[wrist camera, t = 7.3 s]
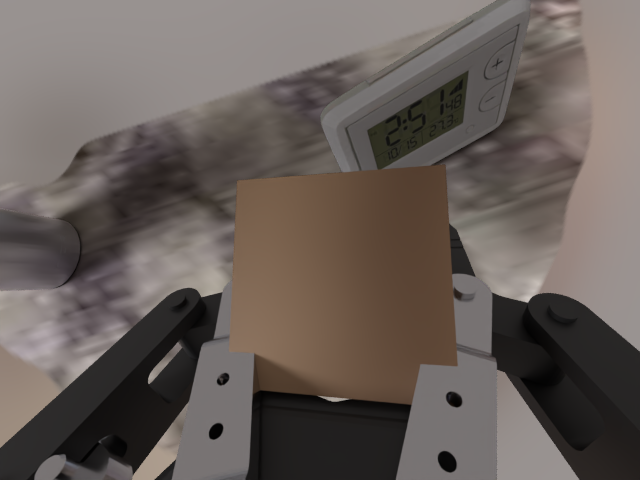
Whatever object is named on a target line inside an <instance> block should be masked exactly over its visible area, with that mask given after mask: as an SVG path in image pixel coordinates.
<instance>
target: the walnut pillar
mask: <svg viewBox="0 0 640 480" xmlns="http://www.w3.org/2000/svg"><path fill="white" fill-rule="evenodd" d="M229 352H243V353H254V354H255V361H256V367H257V373H258V379H259V385H260V390H264V391H274V392H285V393H295V394H305V395H316V396H326V397H337V398H347V399H358V400H368V401H378V402H389V403H399V404H410V405H412V402H413V397H414V392H415V388H416V383H417V378H418V374H419V369H420V364H427V365H443V366H458V362H457V345H456V329H455V313H454V297H453V280H452V264H451V248H450V231H449V215H448V199H447V183H446V166H445V164H444V165H431V166H418V167H405V168H392V169H379V170H366V171H353V172H340V173H327V174H314V175H301V176H288V177H275V178H262V179H249V180H237V194H236V215H235V236H234V257H233V277H232V298H231V319H230V339H229ZM448 404H449V405H451V406H452V407H454V406H453V405H452V404H450V403H448Z"/></svg>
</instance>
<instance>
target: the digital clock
mask: <svg viewBox="0 0 640 480" xmlns="http://www.w3.org/2000/svg"><path fill="white" fill-rule="evenodd" d="M529 18H530V0H496V1H495V2H493V3H491V4H490V5H488V6H486V7H484V8H483V9H481V10H480V11H478V12H476V13H474V14H473V15H471V16H469V17H468V18H466V19H464V20H462V21H461V22H459V23H457V24H456V25H454V26H453V27H451V28H449V29H448V30H446V31H445V32H443V33H441V34H440V35H438V36H436V37H435V38H433V39H432V40H430V41H428V42H427V43H425V44H423V45H422V46H420V47H419V48H417V49H415V50H414V51H412V52H410V53H409V54H407V55H406V56H404V57H402V58H401V59H399V60H397V61H396V62H394V63H393V64H391V65H389V66H388V67H386V68H384V69H383V70H381V71H380V72H378V73H376V74H375V75H373V76H371V77H370V78H368V79H367V80H365V81H364V82H362V83H360V84H359V85H357V86H356V87H354V88H352V89H351V90H349V91H348V92H346V93H345V94H343V95H342V96H340V97H338V98H337V99H335V100H334V101H332V102H331V103H330V104H328V105H327V106H326V107H325V108H324V110H323V111H322V113H321V117H320V119H321V125H322V128H323V131H324V133H325V136H326V138H327V140H328V143H329V145H330V147H331V149H332V151H333V154H334V156H335V158H336V160H337V163H338V165H339V167H340V169H341V171H342V172H353V171H366V170H379V169H392V168H405V167H418V166H430V165H432V164H434V163H435V162H437V161H439V160H441V159H443V158H444V157H446V156H448V155H450V154H452V153H453V152H455V151H457V150H459V149H461V148H462V147H464V146H466V145H468V144H470V143H471V142H473V141H475V140H477V139H479V138H480V137H482V136H484V135H486V134H487V133H489V132H491V131H492V130H494V129H496V128H497V127H498V126H499V125H500V124H501V123H502V121H503V119H504V116H505V113H506V109H507V106H508V102H509V98H510V94H511V90H512V86H513V82H514V79H515V75H516V71H517V67H518V63H519V59H520V55H521V52H522V48H523V44H524V40H525V36H526V32H527V28H528V23H529Z"/></svg>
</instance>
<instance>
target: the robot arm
mask: <svg viewBox="0 0 640 480" xmlns="http://www.w3.org/2000/svg"><path fill="white" fill-rule="evenodd" d="M449 231H450V248H451V264H452V280H453V297H454V313H455V329H456V345H457V362H458V366H443V365H427V364H420V369H419V374H418V378H417V383H416V388H415V392H414V397H413V402H412V405H410V404H399V403H389V402H378V401H368V400H358V399H349V400H344V401H339V402H332V401H328V400H326V399H323V398H321V397H318V396H316V395H305V394H295V393H285V392H274V391H264V390H260V385H259V379H258V373H257V367H256V361H255V354H254V353H243V352H229V339H230V319H231V298H232V280H231V281H230V282H229V283H228V284H227V285H226V286H225V287H224V289H223V292H221V293H218V294H214V295H209V296H205V297H201V296H200V294H199V292H198V291H197V290H196V289H193V288H184V289H180V290H178V291H175V292H173V293H172V294H170V295H169V296H167V297H166V298H165V299H164V300H163V301H161V302H160V303H159V304H158V305H157V306H156V307H155V308H154V309H153V310H152V311H150V312H149V313H148V314H147V315H146V316H145V317H144V318H143V319H142V320H141V321H139V322H138V323H137V324H136V325H135V326H134V327H133V328H132V329H131V330H130V331H128V332H127V333H126V334H125V335H124V336H123V337H122V338H121V339H120V340H119V341H117V342H116V343H115V344H114V345H113V346H112V347H111V348H110V349H109V350H108V351H106V352H105V353H104V354H103V355H102V356H101V357H100V358H99V359H98V360H97V361H95V362H94V363H93V364H92V365H91V366H90V367H89V368H88V369H87V370H86V371H84V372H83V373H82V374H81V375H80V376H79V377H78V378H77V379H76V380H75V381H73V382H72V383H71V384H70V385H69V386H68V387H67V388H66V389H65V390H64V391H62V392H61V393H60V394H59V395H58V396H57V397H56V398H55V399H54V400H53V401H51V402H50V403H49V404H48V405H47V406H46V407H45V408H44V409H43V410H42V411H40V412H39V413H38V414H37V415H36V416H35V417H34V418H33V419H32V420H31V421H29V422H28V423H27V424H26V425H25V426H24V427H23V428H22V429H21V430H20V431H18V432H17V433H16V434H15V435H14V436H13V437H12V438H11V439H10V440H8V442H6V443H5V444H4V445H3V446H2V447H1V448H0V480H132V476H133V475H134V473H135V472H136V470H137V469H138V468H139V467H140V465H141V464H142V463H143V461H144V460H145V459H146V457H147V456H148V455H149V453H150V452H151V450H152V449H153V448H154V447H155V445H156V444H157V443H158V441H159V440H160V439H161V437H162V436H163V435H164V433H165V432H166V431H167V429H168V428H169V427H170V425H171V424H172V423H173V421H174V420H175V419H176V417H177V416H178V415H179V413H180V412H181V411H182V409H183V408H184V407H185V406H186V404H187V403H188V402H189V405H188V409H187V413H186V418H185V422H184V427H183V431H182V436H181V440H180V445H179V449H178V454H177V458H176V460H175V461H174V462H173V463H172V464H171V465H170V466H169V467H167V468H166V469H165V470H164V471H163V472H162V473H161V474H160V475H159V476H158V477H157V478H156V479H155V480H497V370H500V371H503V372H505V373H506V374H507V376H508V378H509V379H510V381H511V382H512V383H513V385H514V386H515V388H516V389H517V391H518V392H519V394H520V395H521V396H522V398H523V399H524V401H525V402H526V404H527V405H528V406H529V408H530V409H531V411H532V412H533V414H534V415H535V416H536V418H537V419H538V421H539V422H540V423H541V425H542V427H543V428H544V429H545V431H546V432H547V434H548V435H549V437H550V438H551V439H552V441H553V442H554V444H555V445H556V447H557V448H558V450H559V451H560V452H561V454H562V455H563V456H564V458H565V460H566V461H567V462H568V464H569V465H570V467H571V468H572V470H573V471H574V472H575V474H576V475H577V477H578V478H579V480H640V352H639V351H638V350H637V349H636V348H635V347H633V346H632V345H631V344H630V343H629V342H627V341H626V340H625V339H624V338H623V337H622V336H620V335H619V334H618V333H617V332H616V331H615V330H613V329H612V328H611V327H610V326H609V325H607V324H606V323H605V322H604V321H603V320H602V319H600V318H599V317H598V316H597V315H596V314H594V313H593V312H592V311H591V310H590V309H589V308H587V307H586V306H585V305H583V304H582V303H580V302H578V301H576V300H574V299H572V298H569V297H567V296H563V295H559V294H554V293H542V294H538V295H535V296H533V297H532V298H531V299H530V300H529V302H528V303H526V302H522V301H518V300H513V299H509V298H505V297H502V296H499V295H496V294H494V293H492V292H491V290H490V288H489V287H488V286H487V284H485V283H484V282H483V281H481V280H480V279H478V278H476V277H475V274H474V272H473V269H472V267H471V264H470V262H469V259H468V257H467V254H466V252H465V250H464V249H463V245H462V242H461V241H460V237H459V235H458V232H457V230H456V229H455V228H454V227H452V226H451V225H450V224H449ZM79 255H80V241H79V237H78V234H77V232H76V230H75V228H74V227H73V226H72V225H71V224H70V223H68V222H66V221H64V220H60V219H54V218H49V217H44V216H38V215H33V214H28V213H23V212H18V211H12V210H7V209H1V208H0V291H12V290H41V289H53V288H56V287H58V286H60V285H62V284H63V283H64V282H66V281H67V280H68V278H69V277H70V276H71V275H72V273H73V272H74V270H75V268H76V266H77V263H78V260H79ZM177 342H178V343H179V344H180V345H181V347H182V349H181V350H180V351H179V352H178V353H177V355H176V356H175V357H174V358H173V359H172V360H171V361H170V362H169V364H168V365H167V366H166V367H165V368H164V369H163V370H162V371H161V372H160V374H159V375H158V376H157V377H156V378H155V379H154V380H153V381H152V382H151V383H150V384H149V385H148V377H149V375H150V373H151V371H152V370H153V369H154V367H155V366H156V365H157V364H158V363H159V362H160V361H161V360H162V359H163V358H164V357H165V355H166V354H167V353H168V352H169V351H170V350H171V349H172V348H173V347H174V346H175V345H176V343H177ZM448 403H450V404H452V405H453V406H454V407H452V406H451V405H449V404H448Z"/></svg>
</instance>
